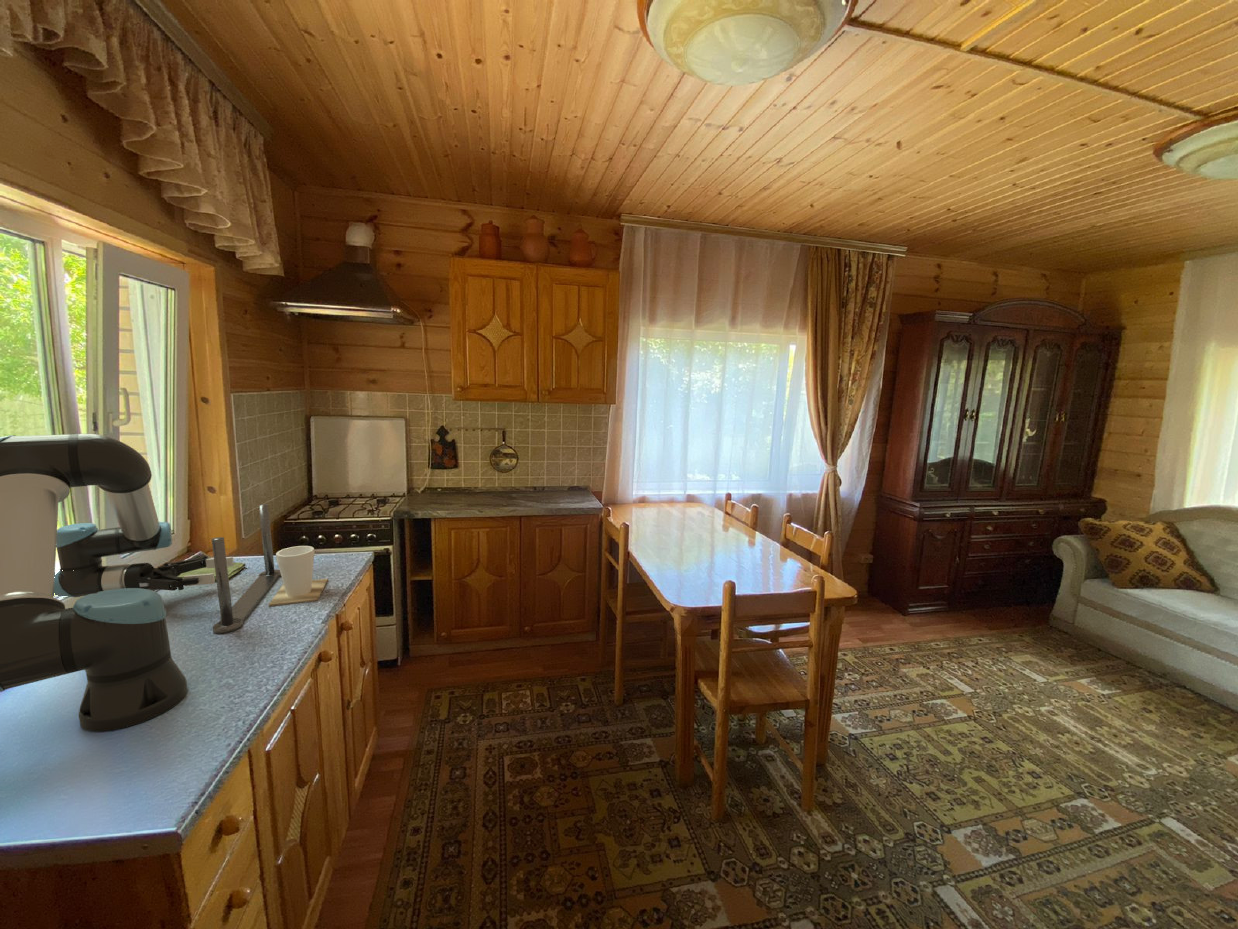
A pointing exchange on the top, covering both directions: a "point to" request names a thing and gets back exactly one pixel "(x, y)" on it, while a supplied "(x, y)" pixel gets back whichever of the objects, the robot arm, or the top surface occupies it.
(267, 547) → the rod gate
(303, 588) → the foam cup
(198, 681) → the top surface
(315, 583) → the birch pad
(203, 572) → the washcloth
